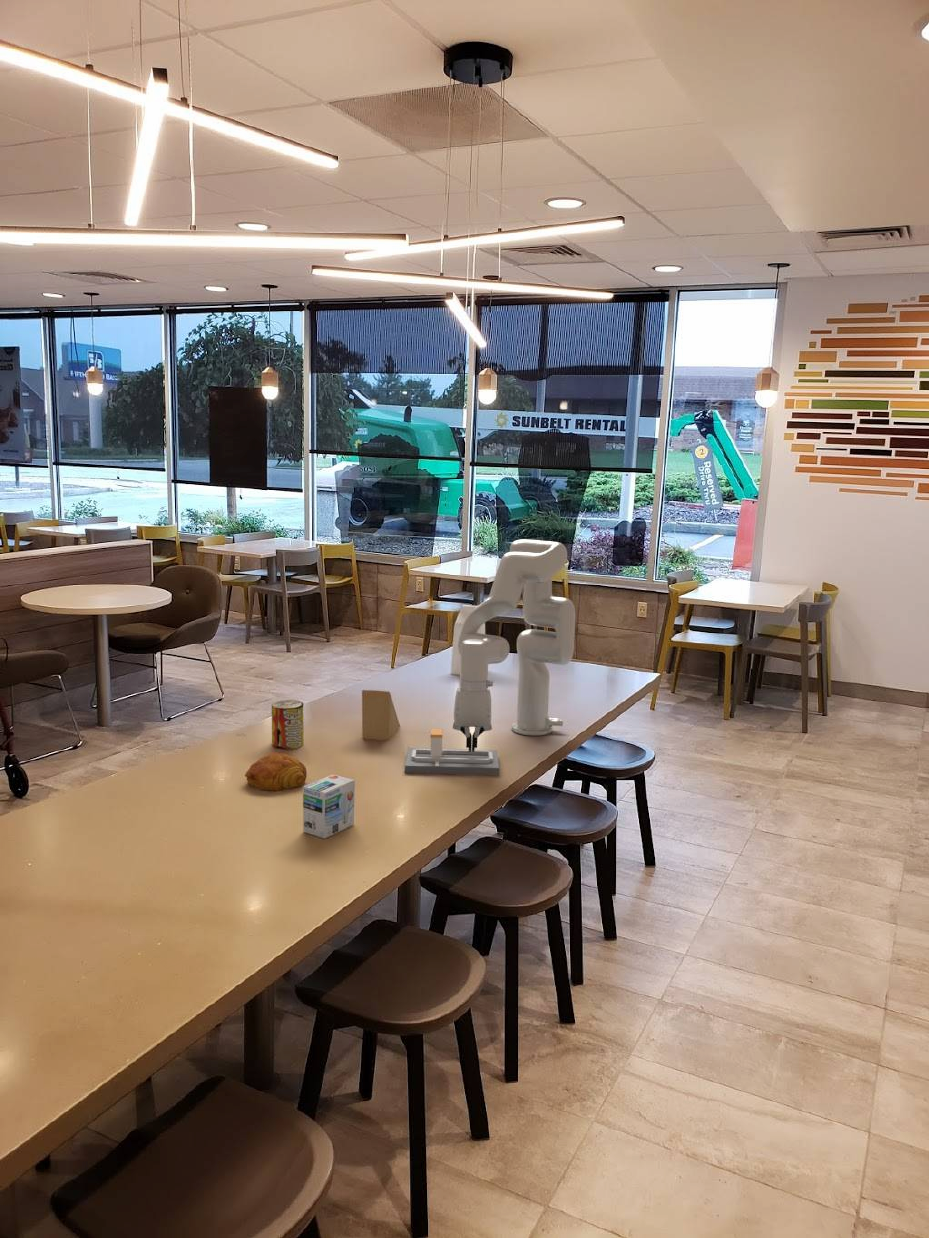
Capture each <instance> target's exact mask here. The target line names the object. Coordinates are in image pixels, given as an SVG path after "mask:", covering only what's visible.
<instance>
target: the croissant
mask: <svg viewBox="0 0 929 1238" xmlns="http://www.w3.org/2000/svg"><path fill="white" fill-rule="evenodd" d="M307 774H308V773H307V768H306V766H305V765H304V763H303V762H301V761H300V760H299V759H298V758H295V757H293V756H292V755H290V754H289V755H288V754H285V753H281V752H273V753H268V754H266V755H264V756H263V757H261V758H259V759H257V760H256V761H255V762H253V763H252V764H251V765H250V767H249V769H248V770H247V771H246V772H245V773H244V776H245V778H246V781H247V782H248V784H250V785H251V786H252V787H255V788H256V789H259V790H264V791H272V792H278V791H279V792H280V791H283V790H284V789H285V790H289V789H292V788H296V787H300V786H302V785H303V784H305V782H306V780H307V776H308V775H307Z"/></svg>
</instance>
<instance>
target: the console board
mask: <svg viewBox="0 0 929 1238" xmlns="http://www.w3.org/2000/svg"><path fill="white" fill-rule="evenodd" d="M430 756H431V747H429V748H428V747H426V748H424V747H407V753H406V758H405V763H404V764H405V765H404V773H405V774H430V775H431V774H437V775H440V774H441V775H477V776H500V775H499V774H500V766H499V757H498V750H496V749H475V752H473V751H472V748H471V752H469V748H466V749H463V748H462V749H461V748H442V758H437V757H430Z"/></svg>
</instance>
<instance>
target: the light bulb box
mask: <svg viewBox="0 0 929 1238" xmlns="http://www.w3.org/2000/svg"><path fill="white" fill-rule="evenodd" d="M355 783H356V781H355V779H352V778H348V777H347V778H346V777H343V776H340V775H337V774H331V775H328V776H326V777H324V778H321V779H319V780H316V781H314V782H312V783H309V784H307V785H304V786H302V791H303V792H302V797H303V798H302V800H303V802H302V804H303V805H302V809H303V811H302V814H303V815H302V818H303V819H302V820H303V821H302V822H303V823H302V826H303V827H302V829H303V830H302V831H303V832H304V833H305V834H306V833H307V834H310V835H312V836H315V837H317V838H321V839H323V840H325V839H327V838H329V837H332V836H334V835H335V834H337V833H339V832H341V831H343V830H345V829H348V828H350V827H352V826H354V825H355Z"/></svg>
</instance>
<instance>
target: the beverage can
mask: <svg viewBox="0 0 929 1238" xmlns="http://www.w3.org/2000/svg"><path fill="white" fill-rule="evenodd" d="M304 723H305V722H304V702H303V701H301V700H296V699H295V700H294V699H283V700H276V701H274V702H272V703H271V745H272V747H273V748H274V749H279V750H293V749H299V748H301V747H303V746H304V745H305V743H304V729H305V728H304Z"/></svg>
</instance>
